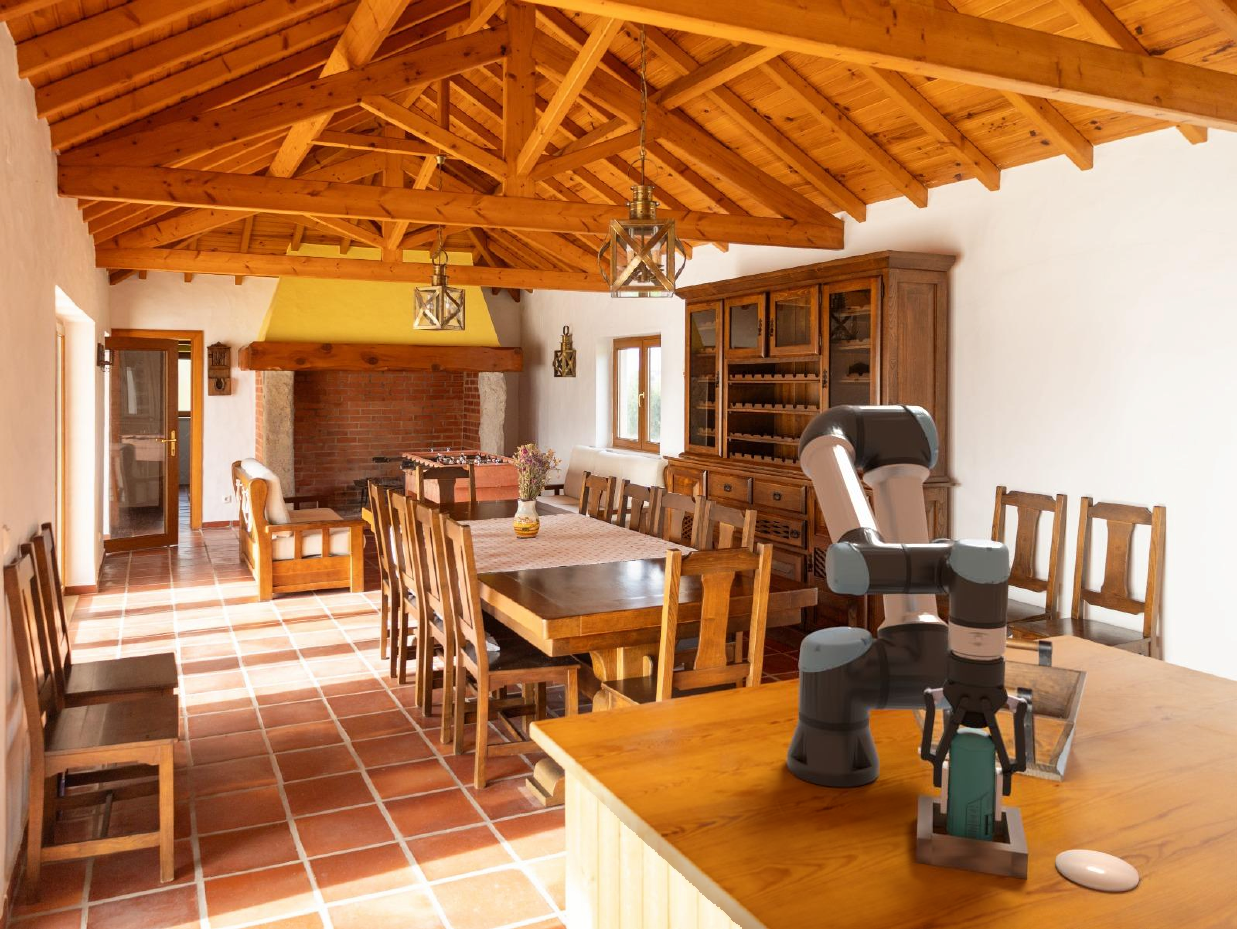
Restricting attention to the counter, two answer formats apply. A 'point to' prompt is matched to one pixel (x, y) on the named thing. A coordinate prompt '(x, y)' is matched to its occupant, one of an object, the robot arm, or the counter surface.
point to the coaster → (1097, 870)
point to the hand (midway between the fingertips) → (970, 812)
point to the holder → (972, 843)
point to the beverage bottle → (971, 781)
